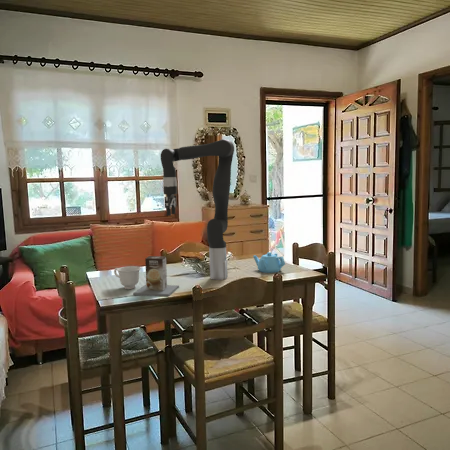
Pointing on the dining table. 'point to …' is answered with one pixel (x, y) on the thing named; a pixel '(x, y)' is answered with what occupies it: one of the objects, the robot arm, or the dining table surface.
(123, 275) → the teacup
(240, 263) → the dining table surface
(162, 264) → the coffee box
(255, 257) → the teapot
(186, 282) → the dining table surface
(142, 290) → the mat
